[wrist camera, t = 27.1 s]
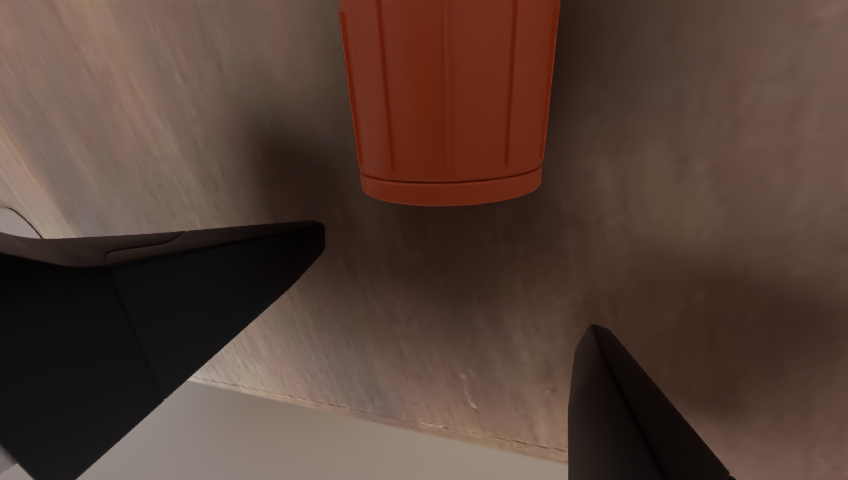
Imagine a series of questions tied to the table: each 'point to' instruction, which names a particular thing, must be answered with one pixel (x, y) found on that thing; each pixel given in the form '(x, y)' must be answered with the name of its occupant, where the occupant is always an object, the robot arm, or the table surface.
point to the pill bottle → (15, 224)
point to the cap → (449, 96)
